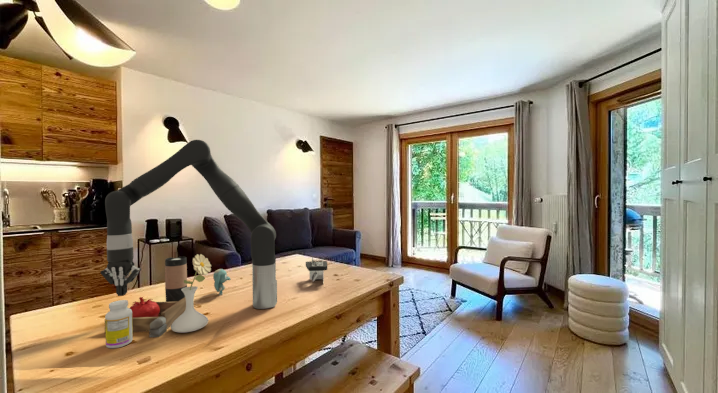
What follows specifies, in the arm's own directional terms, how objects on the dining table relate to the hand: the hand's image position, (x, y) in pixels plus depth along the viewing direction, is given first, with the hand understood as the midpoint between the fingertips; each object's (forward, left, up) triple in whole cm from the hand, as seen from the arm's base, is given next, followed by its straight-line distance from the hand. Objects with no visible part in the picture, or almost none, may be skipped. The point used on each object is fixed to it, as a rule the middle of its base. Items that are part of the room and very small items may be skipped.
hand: (121, 295), depth 112 cm
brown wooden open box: (-9, 0, -10) cm, 13 cm away
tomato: (-7, 0, -10) cm, 12 cm away
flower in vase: (-27, +6, -10) cm, 29 cm away
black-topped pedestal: (-66, -42, -10) cm, 79 cm away
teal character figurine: (-25, -28, -10) cm, 39 cm away
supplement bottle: (-10, +16, -10) cm, 22 cm away
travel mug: (-12, -14, -10) cm, 21 cm away
